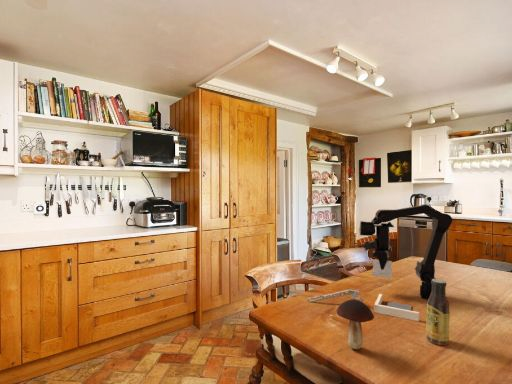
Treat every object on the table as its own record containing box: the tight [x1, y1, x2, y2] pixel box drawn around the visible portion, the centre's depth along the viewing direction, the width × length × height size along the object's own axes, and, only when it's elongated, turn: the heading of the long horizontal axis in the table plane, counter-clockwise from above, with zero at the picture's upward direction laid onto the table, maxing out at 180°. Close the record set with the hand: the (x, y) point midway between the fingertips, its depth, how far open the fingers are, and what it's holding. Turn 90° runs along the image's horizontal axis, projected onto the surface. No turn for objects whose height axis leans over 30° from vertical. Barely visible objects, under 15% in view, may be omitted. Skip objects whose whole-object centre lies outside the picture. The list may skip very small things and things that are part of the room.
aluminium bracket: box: [371, 258, 393, 279], centre depth 133 cm, size 8×6×6 cm
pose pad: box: [386, 301, 412, 311], centre depth 116 cm, size 9×11×1 cm
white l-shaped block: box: [373, 293, 420, 322], centre depth 116 cm, size 16×15×3 cm
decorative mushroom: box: [336, 298, 375, 350], centre depth 87 cm, size 11×11×15 cm
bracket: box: [306, 289, 364, 303], centre depth 122 cm, size 3×21×10 cm, turn 79°
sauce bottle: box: [425, 278, 450, 346], centre depth 91 cm, size 6×6×20 cm
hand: (382, 268), depth 134 cm, fingers closed on aluminium bracket
